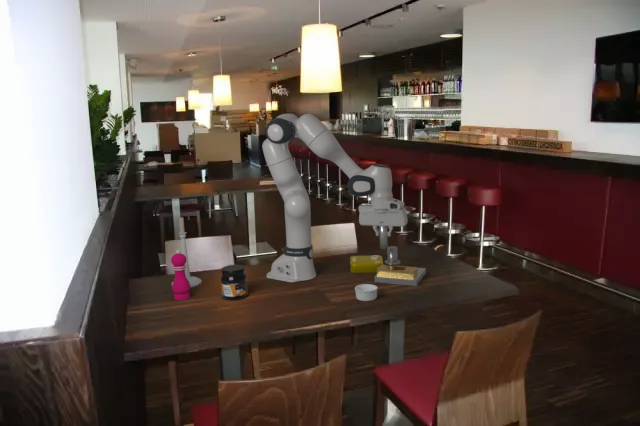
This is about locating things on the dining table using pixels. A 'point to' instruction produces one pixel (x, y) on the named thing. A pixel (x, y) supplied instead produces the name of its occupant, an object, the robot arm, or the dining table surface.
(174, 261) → the pepper mill
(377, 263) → the element tile
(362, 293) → the ramekin
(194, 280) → the candlestick
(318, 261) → the dining table surface
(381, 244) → the steel pin
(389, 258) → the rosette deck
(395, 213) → the robot arm
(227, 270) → the supplement container
